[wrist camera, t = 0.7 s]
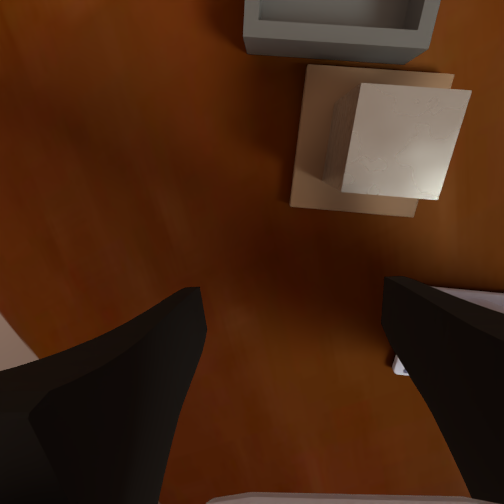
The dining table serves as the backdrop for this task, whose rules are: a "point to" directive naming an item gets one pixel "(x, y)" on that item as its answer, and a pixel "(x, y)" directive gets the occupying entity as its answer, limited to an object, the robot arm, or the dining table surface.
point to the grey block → (393, 139)
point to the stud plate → (318, 130)
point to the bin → (340, 29)
